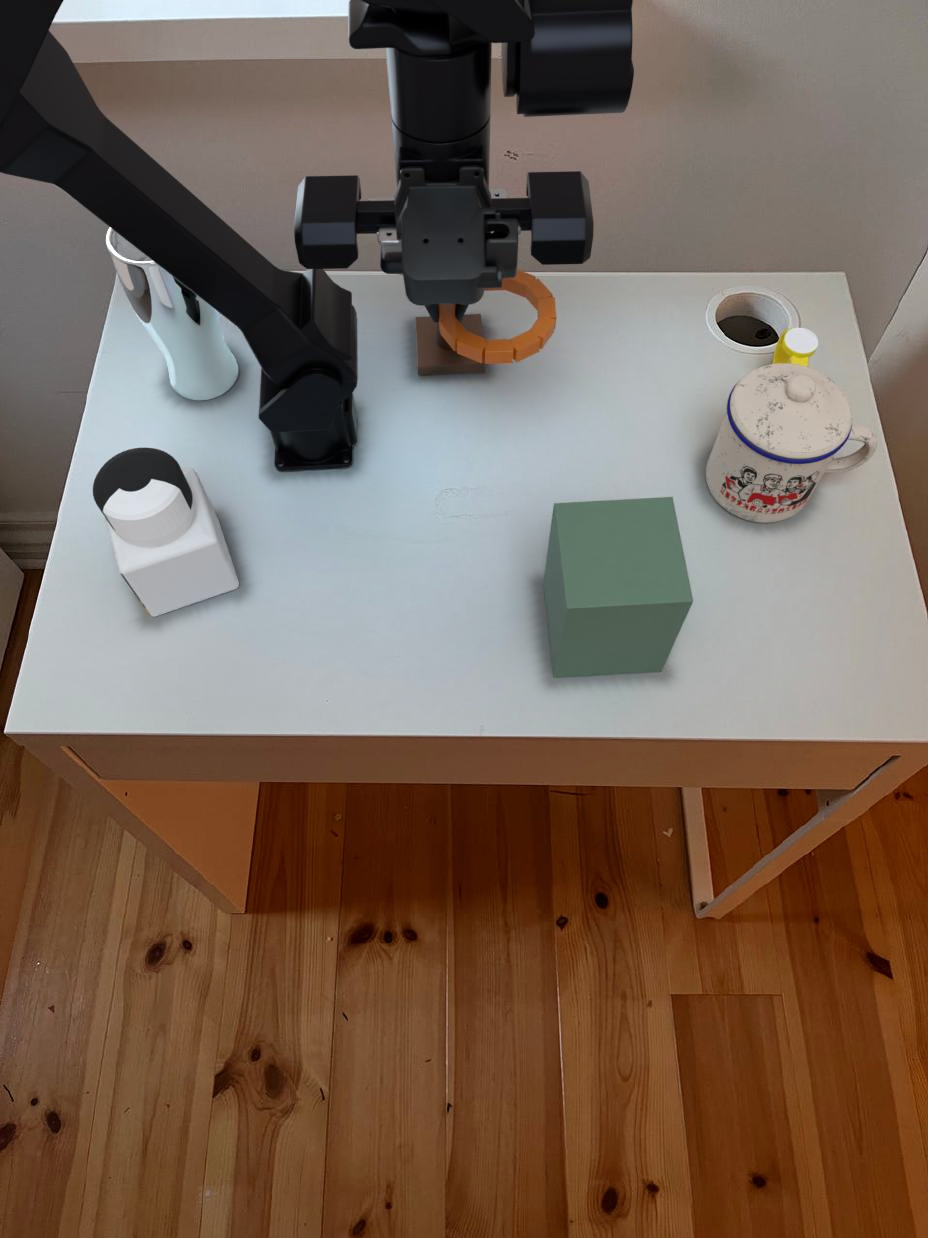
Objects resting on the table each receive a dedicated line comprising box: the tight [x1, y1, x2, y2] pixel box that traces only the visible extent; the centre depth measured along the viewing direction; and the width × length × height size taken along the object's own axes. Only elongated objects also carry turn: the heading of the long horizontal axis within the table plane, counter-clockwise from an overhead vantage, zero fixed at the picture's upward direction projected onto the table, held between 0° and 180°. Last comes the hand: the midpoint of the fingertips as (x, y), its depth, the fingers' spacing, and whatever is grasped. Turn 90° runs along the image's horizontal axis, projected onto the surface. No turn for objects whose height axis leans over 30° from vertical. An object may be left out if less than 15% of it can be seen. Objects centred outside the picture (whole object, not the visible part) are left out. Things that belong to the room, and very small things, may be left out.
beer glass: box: [105, 227, 239, 401], centre depth 73 cm, size 7×7×15 cm
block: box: [542, 496, 694, 679], centre depth 63 cm, size 8×8×11 cm
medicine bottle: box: [92, 447, 240, 618], centre depth 65 cm, size 7×7×12 cm
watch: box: [771, 327, 819, 367], centre depth 76 cm, size 6×3×6 cm, turn 175°
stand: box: [414, 313, 486, 377], centre depth 78 cm, size 6×6×6 cm
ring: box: [439, 268, 557, 365], centre depth 65 cm, size 8×8×1 cm
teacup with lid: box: [705, 362, 878, 524], centre depth 68 cm, size 12×9×12 cm
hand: (447, 318), depth 65 cm, fingers closed on ring, 1 cm apart
